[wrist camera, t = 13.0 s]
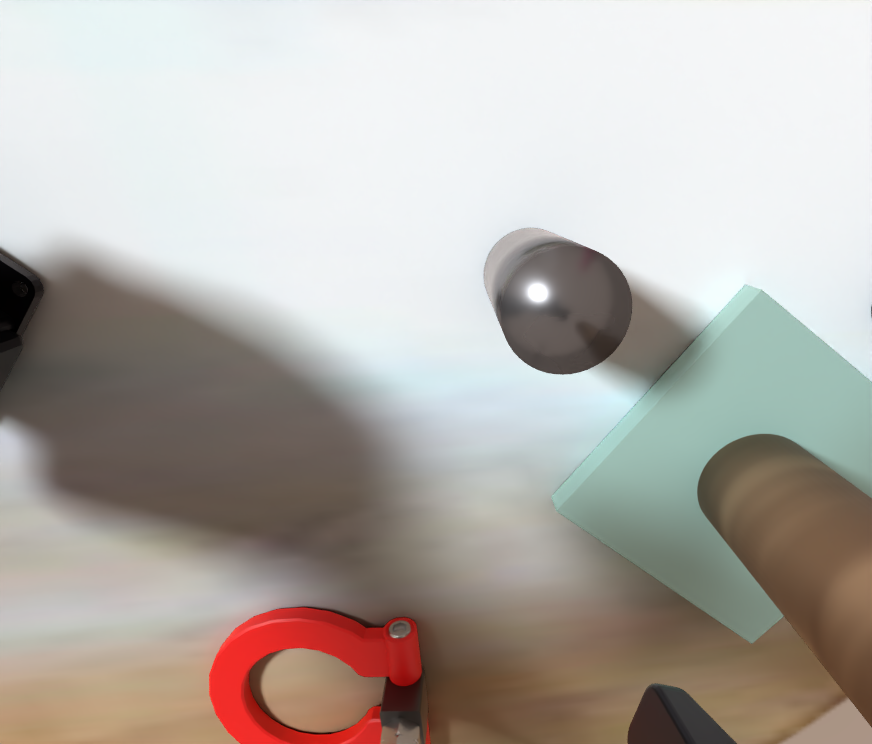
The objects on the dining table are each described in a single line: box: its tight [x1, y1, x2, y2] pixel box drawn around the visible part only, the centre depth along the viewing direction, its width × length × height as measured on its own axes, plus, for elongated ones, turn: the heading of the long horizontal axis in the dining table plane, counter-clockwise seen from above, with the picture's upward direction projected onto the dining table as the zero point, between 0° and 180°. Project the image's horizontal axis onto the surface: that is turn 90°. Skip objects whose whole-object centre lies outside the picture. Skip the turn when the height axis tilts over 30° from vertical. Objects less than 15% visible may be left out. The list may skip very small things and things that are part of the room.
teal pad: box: [552, 285, 872, 644], centre depth 20 cm, size 10×10×1 cm
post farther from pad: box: [484, 228, 632, 374], centre depth 16 cm, size 3×3×6 cm
